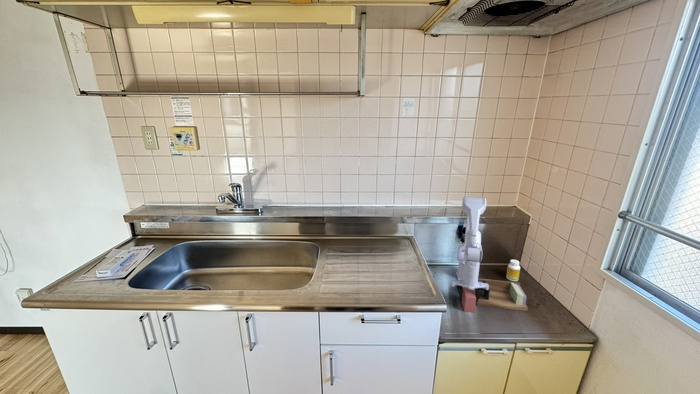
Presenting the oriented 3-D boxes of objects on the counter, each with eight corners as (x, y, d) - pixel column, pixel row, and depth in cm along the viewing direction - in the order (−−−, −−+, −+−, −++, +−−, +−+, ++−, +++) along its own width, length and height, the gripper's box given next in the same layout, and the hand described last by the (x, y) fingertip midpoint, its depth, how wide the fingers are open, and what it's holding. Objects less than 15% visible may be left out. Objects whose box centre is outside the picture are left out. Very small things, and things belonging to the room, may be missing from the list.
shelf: (471, 289, 134) (472, 277, 132) (517, 294, 130) (519, 282, 128) (476, 305, 123) (478, 292, 121) (527, 310, 118) (529, 298, 117)
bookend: (474, 288, 132) (475, 279, 131) (484, 289, 132) (485, 280, 130) (478, 299, 125) (479, 289, 124) (488, 300, 124) (490, 290, 123)
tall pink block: (460, 299, 127) (462, 285, 125) (470, 300, 126) (471, 286, 125) (464, 311, 119) (465, 297, 117) (474, 313, 118) (476, 298, 116)
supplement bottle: (518, 282, 139) (521, 264, 136) (506, 280, 141) (509, 262, 139) (518, 277, 144) (520, 259, 141) (506, 274, 146) (508, 257, 144)
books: (509, 292, 129) (510, 282, 128) (517, 293, 129) (519, 283, 127) (516, 304, 121) (517, 294, 120) (525, 305, 120) (527, 295, 119)
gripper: (454, 277, 116) (451, 305, 120) (492, 280, 113) (488, 309, 117) (451, 268, 123) (449, 295, 126) (487, 271, 120) (484, 299, 123)
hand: (467, 301), depth 122 cm, fingers open, 5 cm apart
